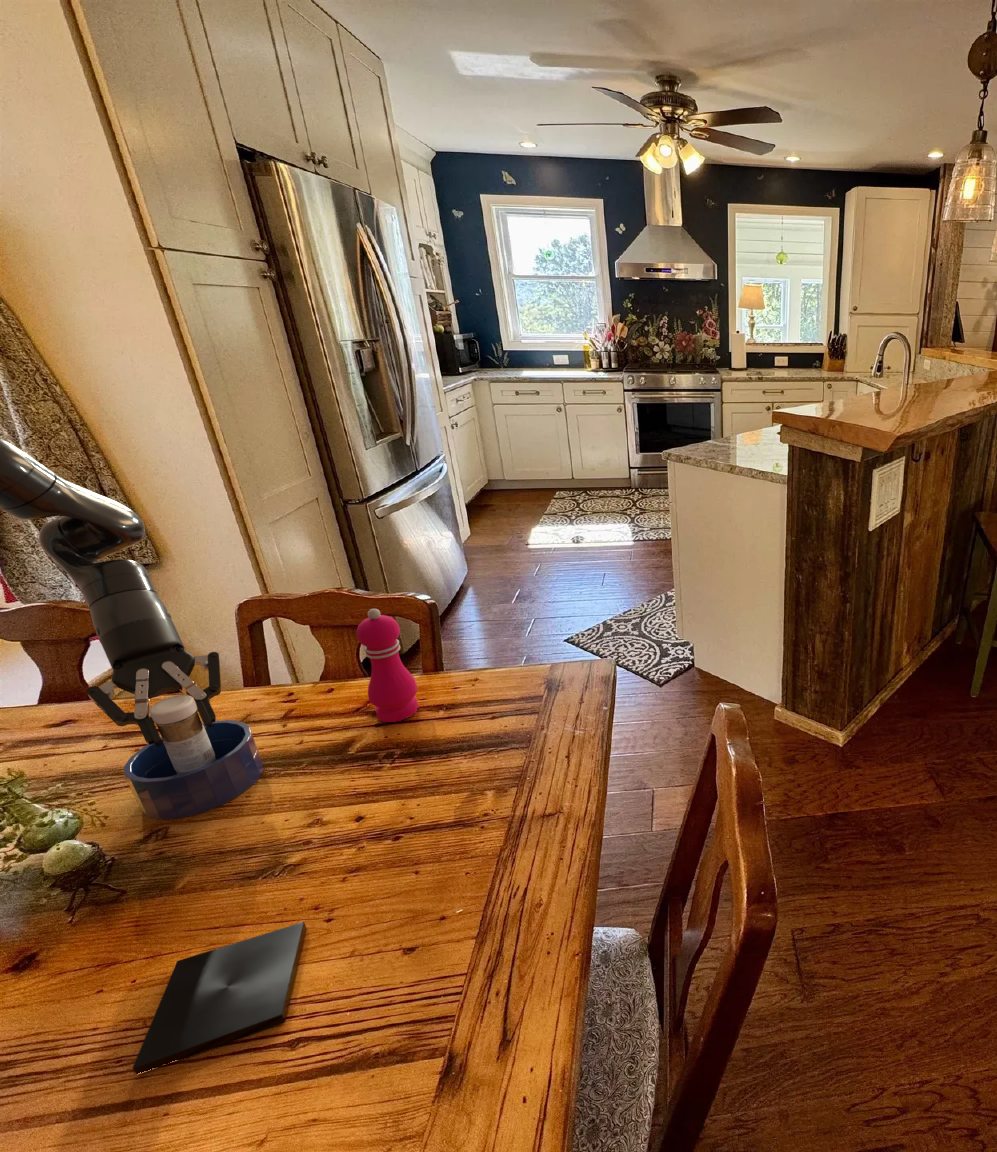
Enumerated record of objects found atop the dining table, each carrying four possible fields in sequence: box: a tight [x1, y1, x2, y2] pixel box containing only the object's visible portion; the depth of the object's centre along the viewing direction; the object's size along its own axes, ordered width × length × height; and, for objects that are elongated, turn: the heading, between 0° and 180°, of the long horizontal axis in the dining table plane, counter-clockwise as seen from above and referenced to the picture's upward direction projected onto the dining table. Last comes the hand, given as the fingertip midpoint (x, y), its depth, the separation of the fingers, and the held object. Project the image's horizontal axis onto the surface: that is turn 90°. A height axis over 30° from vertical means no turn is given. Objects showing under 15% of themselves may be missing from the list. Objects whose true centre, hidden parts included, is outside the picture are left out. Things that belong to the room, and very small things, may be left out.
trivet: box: [132, 921, 308, 1075], centre depth 62 cm, size 11×11×1 cm
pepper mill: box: [356, 608, 419, 723], centre depth 102 cm, size 7×7×20 cm
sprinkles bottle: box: [149, 694, 216, 775], centre depth 86 cm, size 5×5×14 cm
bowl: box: [123, 719, 264, 820], centre depth 88 cm, size 13×13×6 cm
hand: (184, 734), depth 84 cm, fingers closed on sprinkles bottle, 4 cm apart
